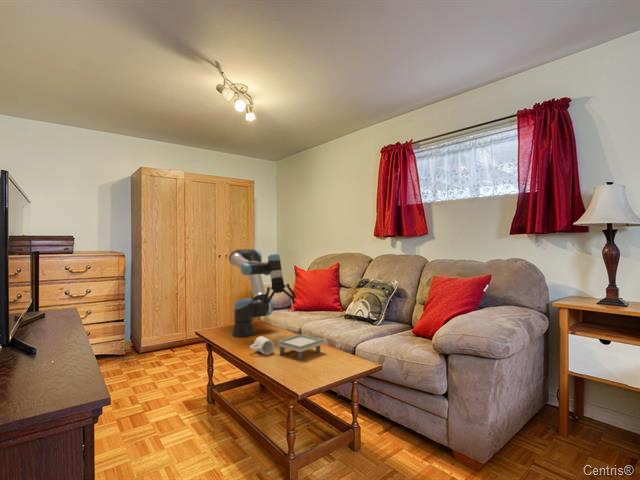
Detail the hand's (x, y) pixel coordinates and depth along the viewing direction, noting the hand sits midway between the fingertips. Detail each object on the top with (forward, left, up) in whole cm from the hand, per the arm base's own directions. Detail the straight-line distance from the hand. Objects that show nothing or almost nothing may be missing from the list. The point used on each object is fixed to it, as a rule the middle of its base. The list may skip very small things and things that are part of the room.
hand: (281, 312), depth 209 cm
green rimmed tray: (+22, -6, -19) cm, 29 cm away
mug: (+5, -20, -19) cm, 28 cm away
